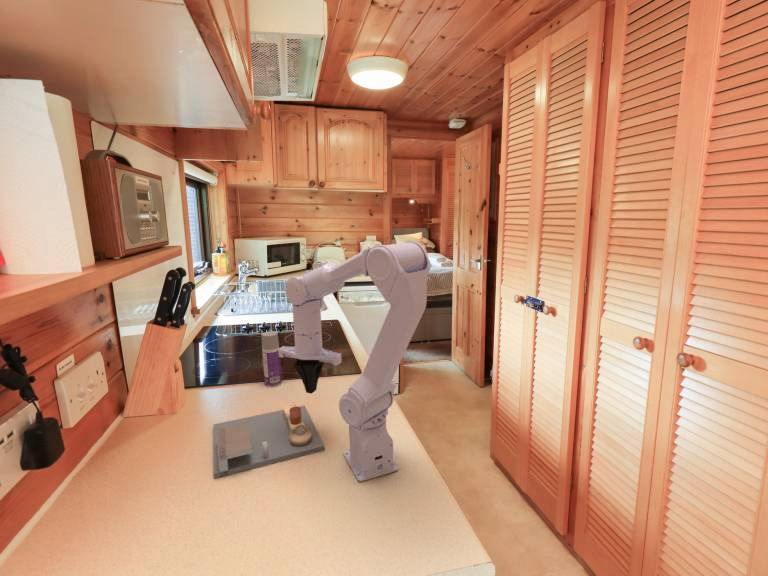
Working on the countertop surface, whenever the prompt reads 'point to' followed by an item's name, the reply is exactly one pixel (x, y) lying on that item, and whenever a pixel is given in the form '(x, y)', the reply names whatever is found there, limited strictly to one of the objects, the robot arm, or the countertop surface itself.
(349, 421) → the robot arm
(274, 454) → the board
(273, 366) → the container
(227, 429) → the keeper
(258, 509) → the countertop surface
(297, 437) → the latch
